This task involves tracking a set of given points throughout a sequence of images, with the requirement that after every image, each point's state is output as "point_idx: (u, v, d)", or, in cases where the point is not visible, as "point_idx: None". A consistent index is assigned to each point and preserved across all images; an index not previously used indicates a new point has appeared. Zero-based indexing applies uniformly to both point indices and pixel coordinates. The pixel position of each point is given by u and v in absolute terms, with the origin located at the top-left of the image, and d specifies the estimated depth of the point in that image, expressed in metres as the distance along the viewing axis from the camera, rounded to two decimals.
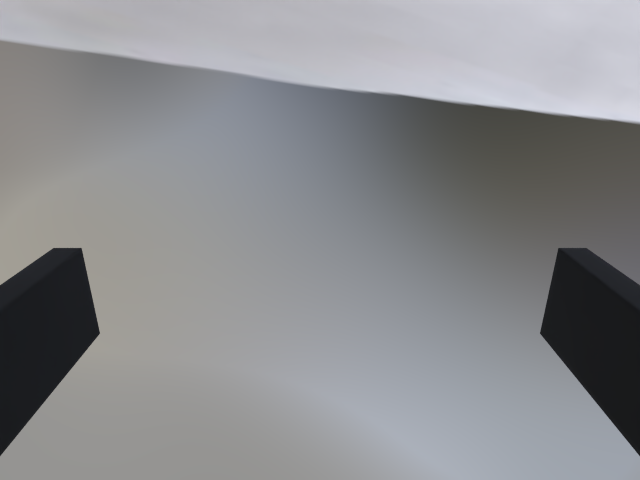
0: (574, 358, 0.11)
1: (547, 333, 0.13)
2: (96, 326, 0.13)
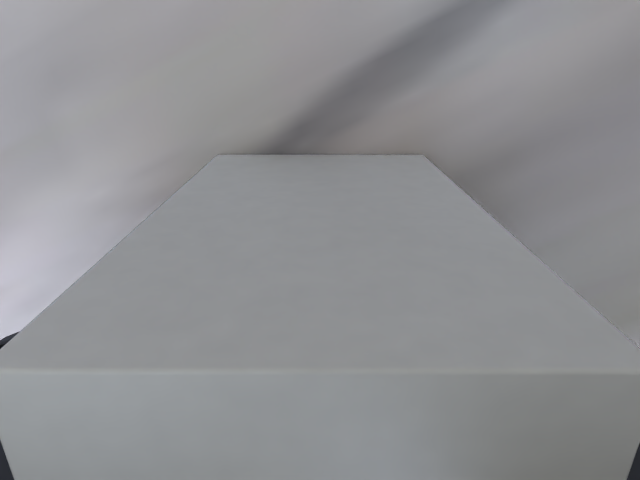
0: None
1: None
2: None
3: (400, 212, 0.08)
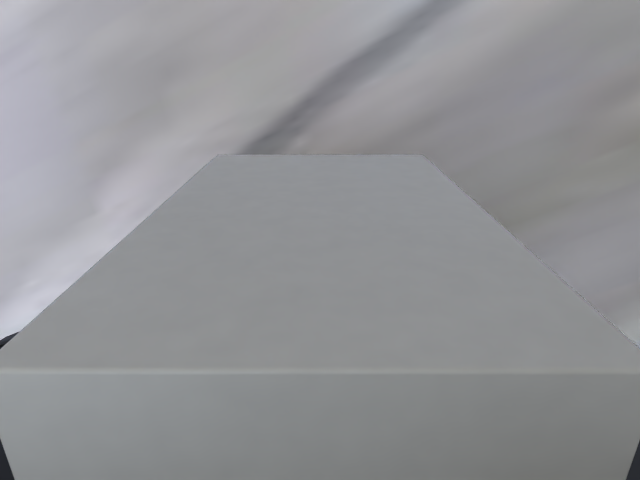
0: None
1: None
2: None
3: (400, 212, 0.08)
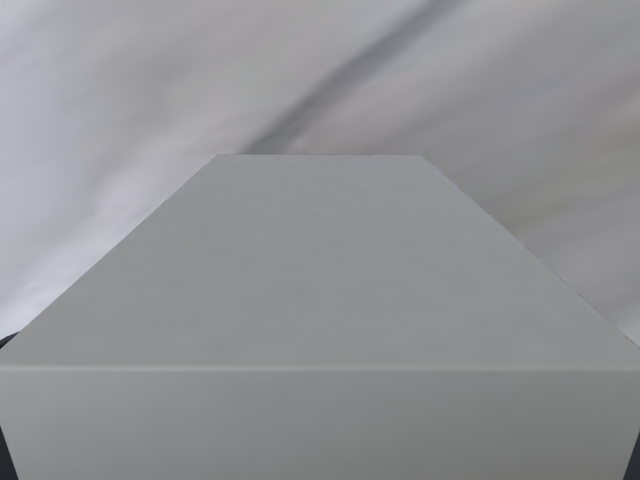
0: None
1: None
2: None
3: (400, 211, 0.08)
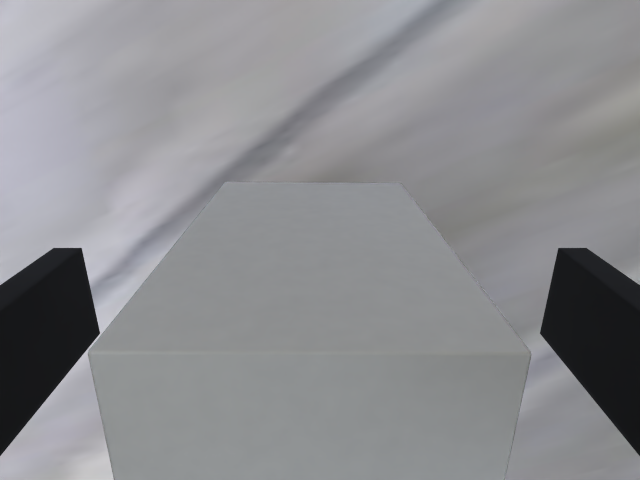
0: (574, 358, 0.11)
1: (547, 333, 0.13)
2: (96, 326, 0.13)
3: (375, 238, 0.11)
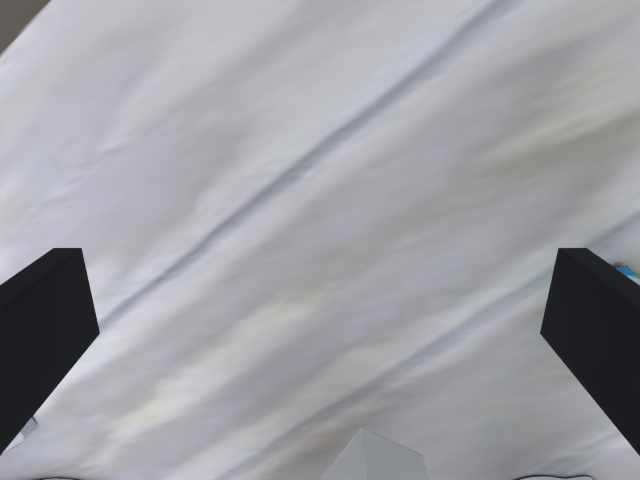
0: (574, 358, 0.11)
1: (547, 333, 0.13)
2: (96, 326, 0.13)
3: None
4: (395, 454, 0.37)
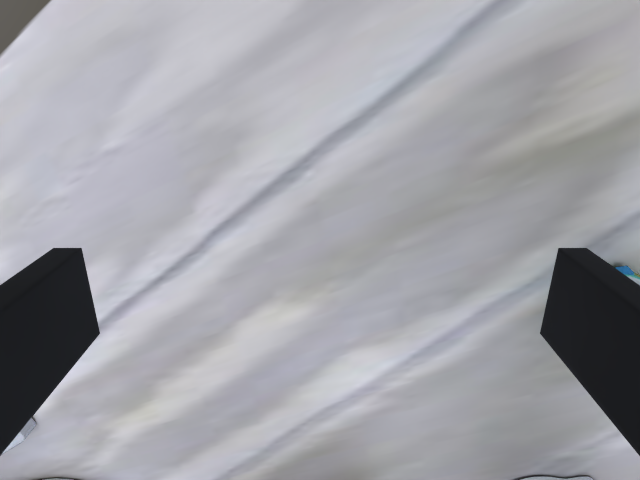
0: (574, 358, 0.11)
1: (547, 333, 0.13)
2: (96, 326, 0.13)
3: None
4: None
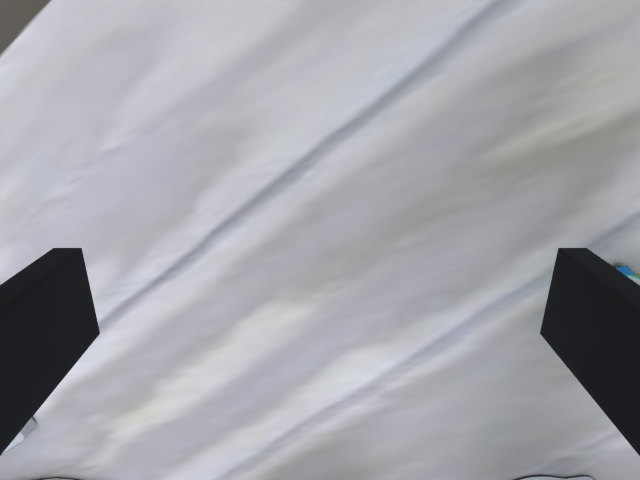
0: (574, 358, 0.11)
1: (547, 333, 0.13)
2: (96, 326, 0.13)
3: None
4: None
